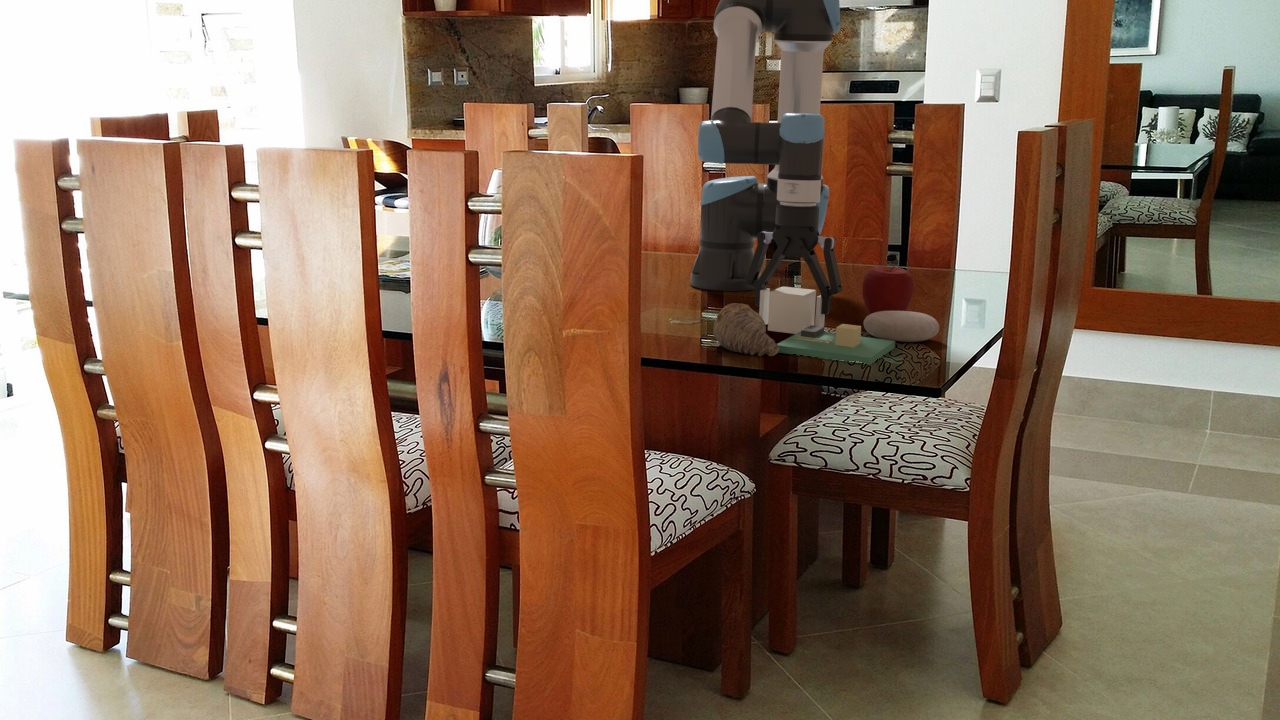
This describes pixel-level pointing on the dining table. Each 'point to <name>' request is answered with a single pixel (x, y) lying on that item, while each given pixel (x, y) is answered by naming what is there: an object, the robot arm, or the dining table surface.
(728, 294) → the dining table surface
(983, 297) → the dining table surface
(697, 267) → the robot arm
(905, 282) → the apple
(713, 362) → the dining table surface
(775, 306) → the plug
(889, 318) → the decorative stone
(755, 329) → the seashell
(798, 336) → the board
